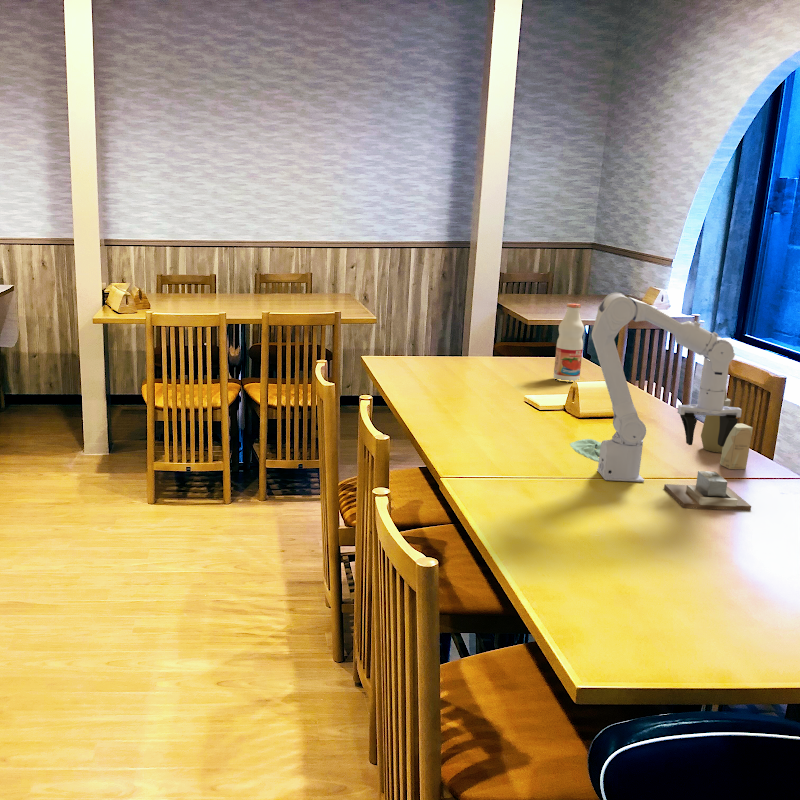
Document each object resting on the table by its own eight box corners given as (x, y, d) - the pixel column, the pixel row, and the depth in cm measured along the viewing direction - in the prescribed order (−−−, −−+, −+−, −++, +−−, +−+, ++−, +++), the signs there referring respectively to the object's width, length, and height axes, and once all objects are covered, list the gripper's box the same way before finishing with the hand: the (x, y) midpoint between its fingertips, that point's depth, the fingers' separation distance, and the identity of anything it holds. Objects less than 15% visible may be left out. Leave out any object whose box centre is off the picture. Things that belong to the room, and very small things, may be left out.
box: (729, 469, 222) (735, 427, 219) (719, 464, 226) (725, 423, 223) (747, 469, 223) (753, 427, 221) (736, 463, 227) (742, 422, 225)
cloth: (578, 439, 245) (579, 430, 245) (657, 454, 234) (658, 445, 234) (551, 455, 228) (552, 446, 227) (634, 473, 217) (635, 463, 217)
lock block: (706, 502, 193) (709, 480, 192) (694, 491, 200) (697, 471, 199) (724, 503, 193) (727, 481, 192) (712, 492, 200) (715, 471, 199)
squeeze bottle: (732, 455, 235) (742, 390, 230) (700, 452, 236) (710, 387, 232) (727, 447, 242) (736, 384, 238) (697, 444, 244) (705, 381, 240)
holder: (684, 508, 191) (685, 497, 191) (664, 488, 205) (665, 477, 204) (751, 511, 192) (753, 500, 192) (727, 490, 205) (728, 480, 205)
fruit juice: (568, 376, 327) (575, 302, 321) (584, 382, 319) (592, 305, 312) (548, 378, 323) (555, 302, 316) (564, 383, 315) (571, 305, 308)
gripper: (688, 391, 201) (680, 448, 204) (750, 394, 201) (741, 450, 205) (677, 384, 208) (670, 439, 211) (737, 387, 208) (729, 442, 211)
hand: (704, 444), depth 208 cm, fingers open, 7 cm apart
